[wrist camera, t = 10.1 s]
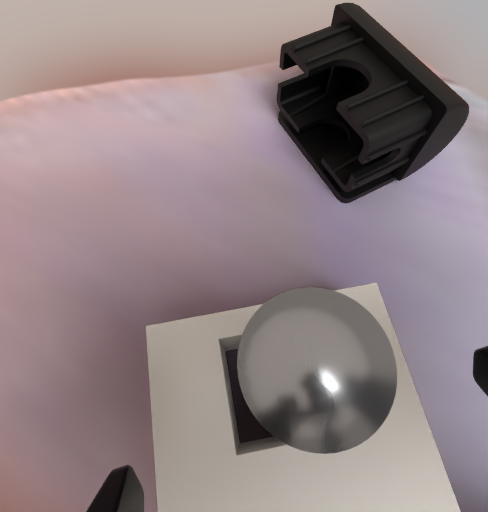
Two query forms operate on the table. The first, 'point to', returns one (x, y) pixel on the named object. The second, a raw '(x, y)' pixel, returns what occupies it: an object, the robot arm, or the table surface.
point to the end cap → (364, 105)
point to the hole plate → (271, 449)
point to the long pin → (317, 370)
